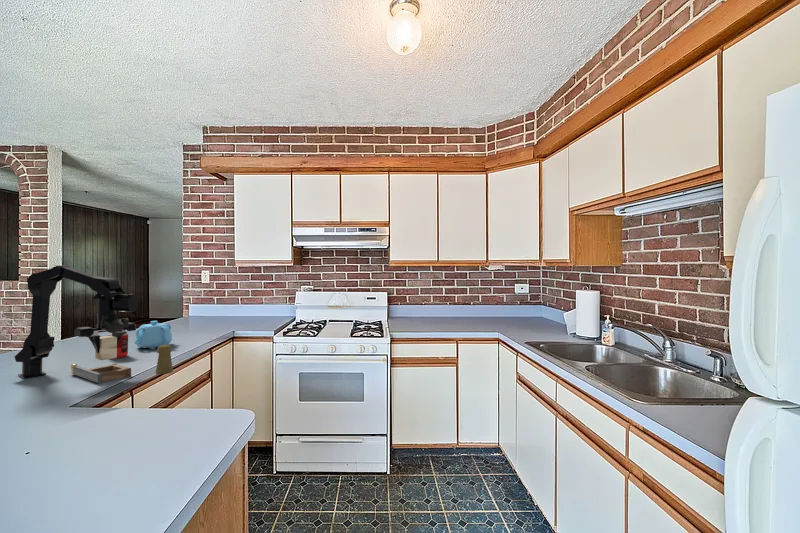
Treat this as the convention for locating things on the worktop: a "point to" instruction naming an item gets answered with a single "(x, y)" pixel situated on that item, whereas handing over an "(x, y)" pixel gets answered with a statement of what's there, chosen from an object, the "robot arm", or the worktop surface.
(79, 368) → the bar
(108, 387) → the worktop surface
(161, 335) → the decorative pot
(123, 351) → the canned food
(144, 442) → the worktop surface
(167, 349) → the cork
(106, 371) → the walnut cradle
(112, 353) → the birch block
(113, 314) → the robot arm
